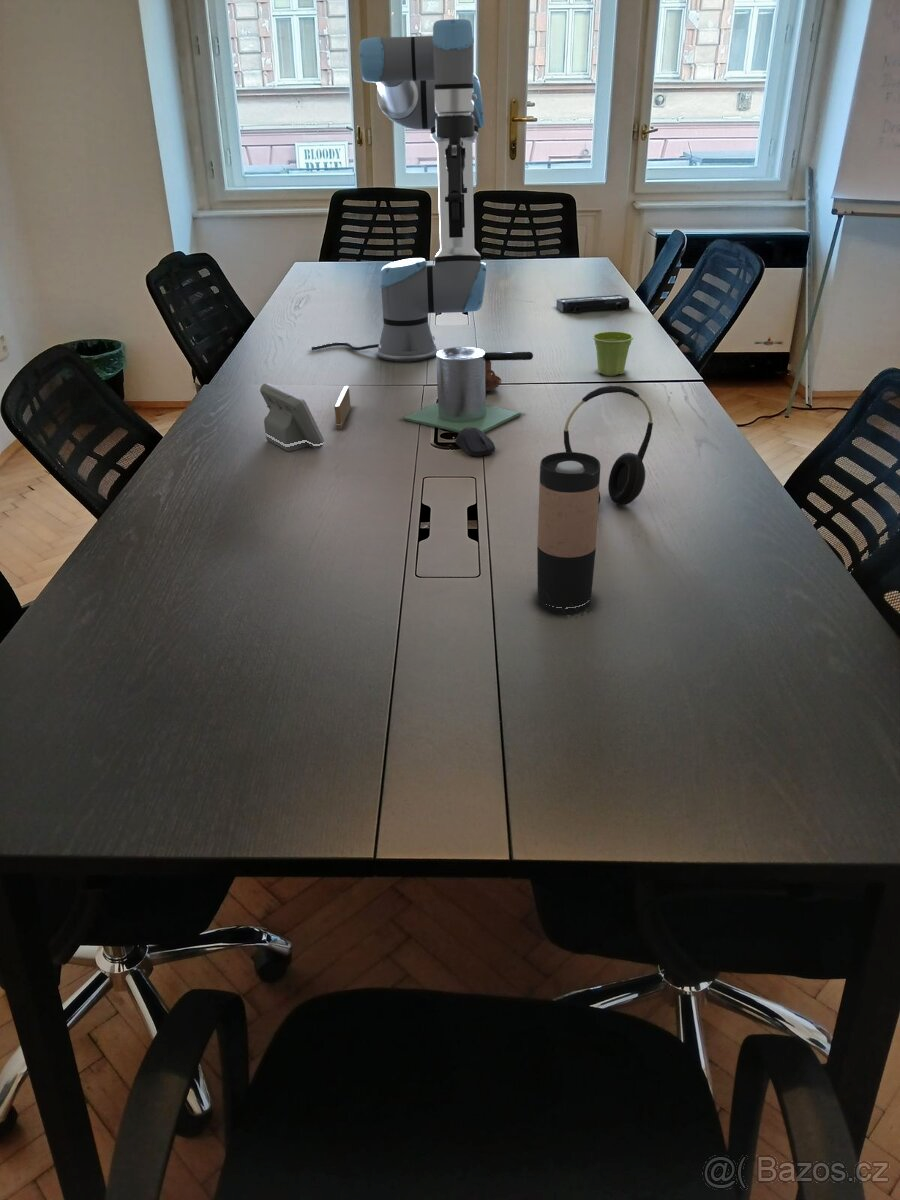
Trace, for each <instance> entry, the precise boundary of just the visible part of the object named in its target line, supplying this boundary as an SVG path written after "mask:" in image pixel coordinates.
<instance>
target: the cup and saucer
mask: <svg viewBox="0 0 900 1200" xmlns="http://www.w3.org/2000/svg"><path fill="white" fill-rule="evenodd" d="M501 384H502V378H501V377H500V376H498V375H496V373H495V371H494V370H493V369H492V361H485V393H486V392H491V391H493V390H495V389H497V388H498V387H499V386H500V385H501Z"/></svg>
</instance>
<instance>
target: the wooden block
mask: <svg viewBox="0 0 900 1200" xmlns="http://www.w3.org/2000/svg"><path fill="white" fill-rule="evenodd" d="M350 411H351V395H350V386H349V385H344V386H343V388H342V390H341V392H340V394H339V396H338V399H337V400H336V402H335V405H334V415H335V425H336V424H341V423H342V424H341V425H336V430H342V429H343V427H344V425H345V422H346V420H347V418H348V415H349V413H350Z"/></svg>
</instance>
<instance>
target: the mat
mask: <svg viewBox="0 0 900 1200" xmlns="http://www.w3.org/2000/svg"><path fill="white" fill-rule="evenodd" d="M520 415H521V412H520V411H515V410H511V409H506V408H501V407H496V406H492V405H487V404H486V414H485V416H484V417H483V418H482V419H479V420H476V421H471V422H450V421H445V420H443V419H441V418H440V417H439V416H438V402H436V403H433V404H431V405H429V406H427V407H424V408H422V409H420V410H418V411H415V412H412V413H410V414H408V415H406V416H403V421H407V422H411V423H415V424H420V425H425V426H429V427H432V428H438V429H442V430H444V431H445V430H446V431H450V432H455V433H458V434H459V432H460V431H461V430H463V429H464V428H467V427H475V428H477V429H479V430H481V431H482V432H483V433H485V434H486V432H489V431H491V430H493V429H495V428H497V427H499V426H501V425H503V424H505V423H507V422H509V421H511V420H513V419H514V418H517V417H519V416H520Z"/></svg>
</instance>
